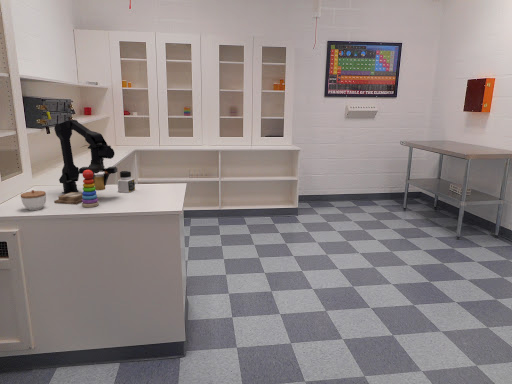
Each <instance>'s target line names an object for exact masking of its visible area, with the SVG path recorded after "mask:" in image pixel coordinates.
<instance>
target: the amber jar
mask: <svg viewBox="0 0 512 384" xmlns="http://www.w3.org/2000/svg"><path fill="white" fill-rule="evenodd" d="M103 174H104V173H100V174H99V173H96V174H95V176H94V183H95V186H94V187H95V188H96V189H95V191H104V190H106V186H104V175H103Z"/></svg>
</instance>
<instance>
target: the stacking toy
mask: <svg viewBox="0 0 512 384" xmlns="http://www.w3.org/2000/svg"><path fill="white" fill-rule="evenodd" d="M81 175H82V177H83V180H82V182H83V184H82V192H81V193H82V194H83V196H82V198H83V199H82V202H81V206H82V207H84V208H95V207H97V206H99V204H100V203H99V201H98V200H99V198H98V195H97V190H95V189H96V188H95V184H94V183H93V182H94V180H93V179H92V178H93V175H94V174H93V172H92V171H91V170H85V171H84V172H83V174H81Z"/></svg>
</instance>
